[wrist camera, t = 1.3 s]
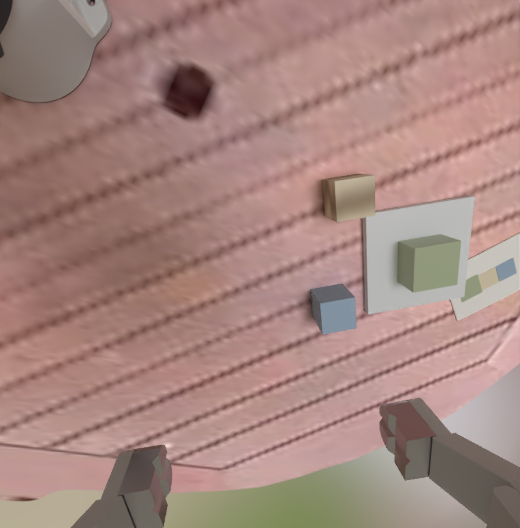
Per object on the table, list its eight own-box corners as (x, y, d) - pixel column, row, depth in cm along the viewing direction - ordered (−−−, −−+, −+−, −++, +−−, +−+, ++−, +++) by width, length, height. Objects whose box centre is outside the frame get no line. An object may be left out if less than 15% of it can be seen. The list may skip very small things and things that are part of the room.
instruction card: (441, 273, 46) (442, 273, 46) (523, 230, 45) (525, 230, 45) (456, 320, 49) (458, 321, 49) (533, 281, 48) (535, 282, 48)
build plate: (362, 212, 42) (380, 219, 37) (468, 195, 42) (499, 199, 37) (364, 310, 47) (380, 327, 42) (458, 293, 48) (485, 308, 43)
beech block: (322, 179, 40) (334, 181, 35) (357, 173, 40) (374, 175, 35) (324, 215, 41) (336, 222, 36) (358, 209, 41) (375, 215, 37)
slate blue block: (310, 288, 45) (320, 303, 40) (341, 283, 45) (355, 297, 40) (313, 317, 46) (322, 334, 42) (343, 311, 47) (356, 328, 42)
